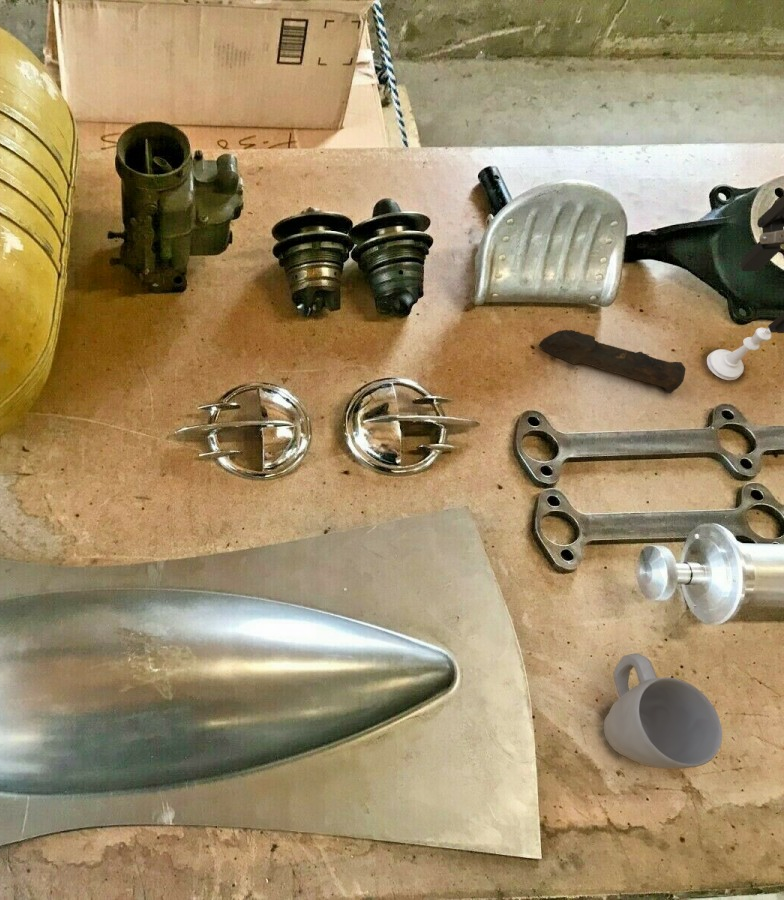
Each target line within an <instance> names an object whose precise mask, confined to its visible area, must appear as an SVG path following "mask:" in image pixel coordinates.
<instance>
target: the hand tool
mask: <svg viewBox="0 0 784 900" xmlns="http://www.w3.org/2000/svg"><path fill="white" fill-rule="evenodd" d="M538 346H539V348H540V349H541V350H543V351H544V352H546V353H548V354H550V355H552V356H553V357H556V358H558V359H561V360H564V361H566V362H567V363H570V364H572V365H577V364H584V365H588V366H592V367H594V368H597V369H599V370H604V371H606V372H608V373H613V374H618V375H622V376H624V377H627V378H630V379H633V380H637V381H639V382H644V383H647V384H650V385H655V386H659V387H661V388H664V390H665V393H666V394H672V393H673V392H674V391H675V390H677V389H678V388H679V387H681V385H682V384H683V382H684V380H685V375H686V371H687V369H686V366H685V365H684V364H683V362H682V361H666V360H664V359H660V358H655V357H652V356H650V355H648V354H647V353H644V352H643V351H636V352H635V351H632V350H627V349H625V348H624V349H623V348H621V347H617V346H614V345H609V344H606V343H603V342H599V341H597V340H596V337H595V336H594V335H591V334H587V333H582V332H580V331H576V330H572V329H569V330H568V329H564V330H558V331H556V332H554V333H551V334H549V335H548V336H546V337H544V338H543V339H542V340H541V341H540V342H539V343H538Z"/></svg>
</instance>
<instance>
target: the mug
mask: <svg viewBox="0 0 784 900" xmlns="http://www.w3.org/2000/svg"><path fill="white" fill-rule="evenodd" d="M633 669H634V670H635V674H636V676H637V680H638V684H637V685H635V686H633V687H632V688H630V685H629V681H630V680H629V679H630V673H631V671H632V670H633ZM613 681H614V686H615V689H616V693H617V695H618V698H617V700H616V701H615V702H614V703H613V705H611V707H610V710H609V711H608V713H607V715H606V716H605V718H604V721H603V733H604V736H605V739H606V741H607V742H608V745H610V747H611V748H612V749H613V750H614V751H615V752H616V753H618V754H619V755H621V756H623V757H626V758H627V759H630V760H631V761H633V762H635V763H637V764H640V765H642V766H647V767H650V768H656V769H665V770H679V769H680V770H684V769H692V768H696V767H700V766H704V765H706V764H708V763H709V762H711V761H712V760H714V758H715V757H716V756H717V754H718V753H719V751H720V748H721V746H722V742H723V741H722V740H723V728H722V723H721V720H720V717H719V714H718V712H717V709H716V708H715V706H714V705H713V703H712V702H711V700H709V698H708V697H707V696H706V695H705V694H704V693H703V692H702V691H701V690H699V689H698V688H697V687H696V686H694V685H693V684H691V683H689V682H687V681H685V680H682V679H680V678H675V677H670V676H669V677H668V676H667V677H658V676H657V673H656V671H655V668H654V666H653V663H652V661H651V660H650V659H649V658H648V657H647V656H645V655H643V654H641V653H637V652H635V653H630V654H626V655H623V656H622V657H621V658H620V659H619V660H618V662H617V664H616V666H615V667H614V670H613Z"/></svg>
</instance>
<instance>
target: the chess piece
mask: <svg viewBox="0 0 784 900" xmlns="http://www.w3.org/2000/svg"><path fill="white" fill-rule="evenodd" d="M771 323H772V322H770V323H769V324H771ZM771 338H772V332H770V330H769V327H768V326H767V327H758V328H757V329H755V331H754V333H753V335H752V336H748V337H747V336H746V337H744V339H742V341H743V342H742V343H743V345H741V346H740V347H738V348H736V349H735V350H733V351H730V350H728V349H723V348H720V349H715V350H713V351H712V352H710V353H709V354H708V355H707V357H706V365H707V367H708V369H709V370H710V372H711V373H712V374H713V375H714V376H716V377H717V378H720V379H722V380H725V381H734V380H737V379H739V377H740V376H742V374H743V373H744V369H745V368H744V367H745V366H744V363H743V360H742V359H743V357H745V356H746V354H747V353H748V352H749V351H758V350H759V348H760V344H761V343H764V342H767V341H769V340H770V339H771Z"/></svg>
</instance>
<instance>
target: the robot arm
mask: <svg viewBox="0 0 784 900" xmlns="http://www.w3.org/2000/svg"><path fill="white" fill-rule="evenodd" d="M756 223H757V224H756V225H757V227H758V228H759V229H761V231H762V233H761V234H760V236H759V241H758V242H757V243H756V244H755V245H754V246H753V247H752V248H751V249H750V250H749V251H748V252H746V254H745V256H744V257H743V260H742V261H741V263H739V267H740V269H741V271H742V272H758V271H760V270H761V269H762V268H763V267H765V265H767V264H768V263H769V262H770V261H771V260H772V259H773V258H774V257H775V256H777V254H779V252H780V251H782V247H781V245H784V195H782V196H781V197H780V198H779V199H778V200H777V201H776V202H775V203H774V204H772V206H771V207H769V208H768V209H767V210H766V211H765V212H764V213H763V214H762V215H761V216H760V217H759V218H758V219H757V222H756ZM770 323H771V324H770ZM770 323H769V324H768V325H767V328H768V327H769V330H770V332H771V334H773V333H774V334H775V333H777V334H784V312H782V313H781V314H780V315H779V316H778V317H776V318H775V319H774V320H772V322H770Z"/></svg>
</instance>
